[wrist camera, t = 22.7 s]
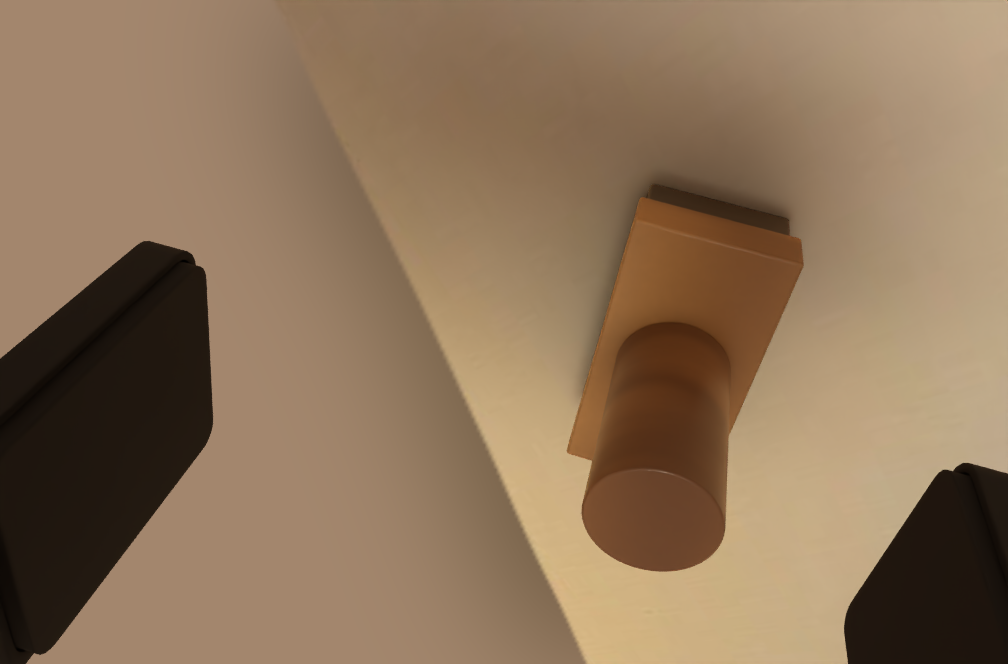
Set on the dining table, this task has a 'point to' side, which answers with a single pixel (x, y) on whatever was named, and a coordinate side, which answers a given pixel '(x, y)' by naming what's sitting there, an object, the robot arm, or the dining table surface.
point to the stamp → (678, 373)
